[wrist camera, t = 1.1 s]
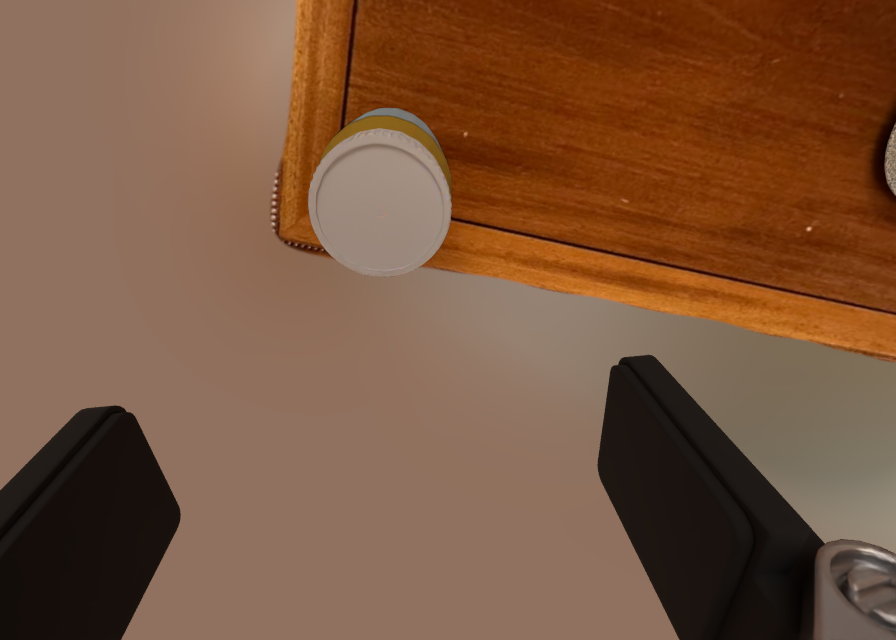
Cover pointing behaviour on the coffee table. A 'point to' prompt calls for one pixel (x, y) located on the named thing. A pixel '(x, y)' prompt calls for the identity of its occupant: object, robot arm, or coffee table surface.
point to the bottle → (382, 194)
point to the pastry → (891, 161)
